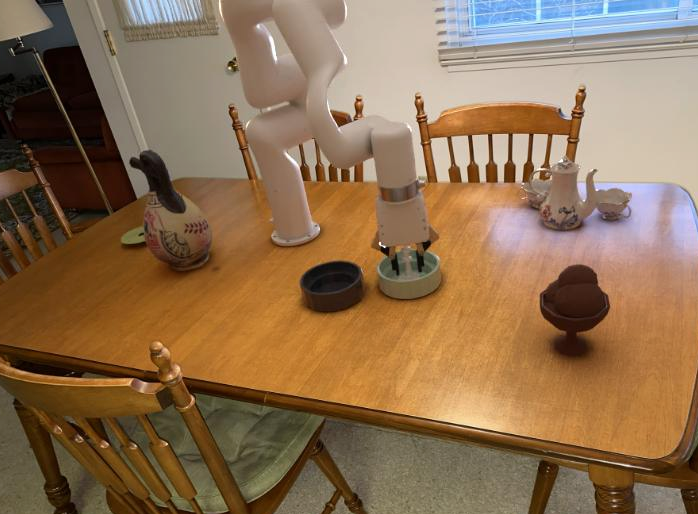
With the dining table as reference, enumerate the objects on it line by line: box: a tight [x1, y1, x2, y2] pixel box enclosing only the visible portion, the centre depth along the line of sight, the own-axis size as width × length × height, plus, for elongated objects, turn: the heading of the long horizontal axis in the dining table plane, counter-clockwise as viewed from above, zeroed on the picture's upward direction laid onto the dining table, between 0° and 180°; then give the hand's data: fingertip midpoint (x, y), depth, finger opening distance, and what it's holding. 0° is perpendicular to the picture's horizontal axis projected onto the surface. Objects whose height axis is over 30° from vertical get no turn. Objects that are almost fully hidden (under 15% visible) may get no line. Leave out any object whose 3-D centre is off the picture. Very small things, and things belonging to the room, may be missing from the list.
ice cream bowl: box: [539, 263, 611, 357], centre depth 90 cm, size 11×11×15 cm
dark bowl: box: [299, 260, 366, 312], centre depth 116 cm, size 13×13×4 cm
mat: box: [120, 225, 146, 245], centre depth 154 cm, size 11×11×2 cm
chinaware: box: [516, 155, 633, 231], centre depth 128 cm, size 28×17×17 cm, turn 58°
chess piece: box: [398, 244, 420, 280], centre depth 114 cm, size 5×5×10 cm
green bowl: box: [375, 248, 442, 300], centre depth 116 cm, size 13×13×4 cm
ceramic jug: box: [128, 149, 213, 272], centre depth 130 cm, size 17×15×30 cm
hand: (408, 270), depth 116 cm, fingers open, 4 cm apart
